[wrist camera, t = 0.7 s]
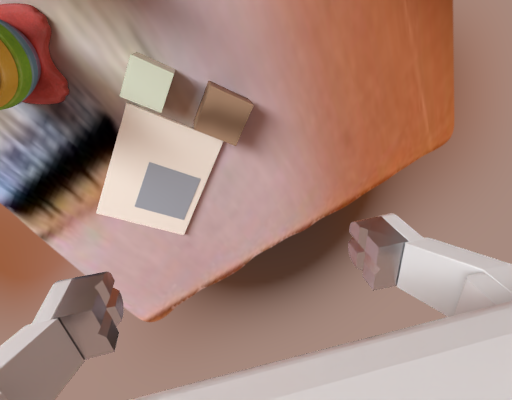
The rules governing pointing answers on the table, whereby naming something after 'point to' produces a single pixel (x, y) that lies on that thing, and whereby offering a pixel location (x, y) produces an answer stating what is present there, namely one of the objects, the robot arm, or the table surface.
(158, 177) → the white flat board
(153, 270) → the table surface
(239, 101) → the walnut cube
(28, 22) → the stacking bear
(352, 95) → the table surface
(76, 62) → the table surface
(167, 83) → the sage cube
